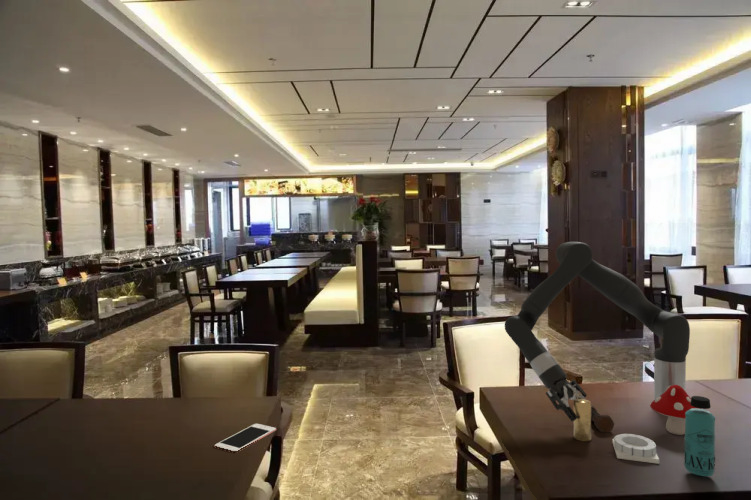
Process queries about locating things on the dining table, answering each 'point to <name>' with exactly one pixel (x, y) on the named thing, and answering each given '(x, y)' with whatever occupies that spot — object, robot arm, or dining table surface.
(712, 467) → the beverage bottle
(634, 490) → the dining table surface
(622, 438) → the seat block
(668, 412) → the decorative mushroom
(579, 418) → the cylinder
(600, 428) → the bolt
